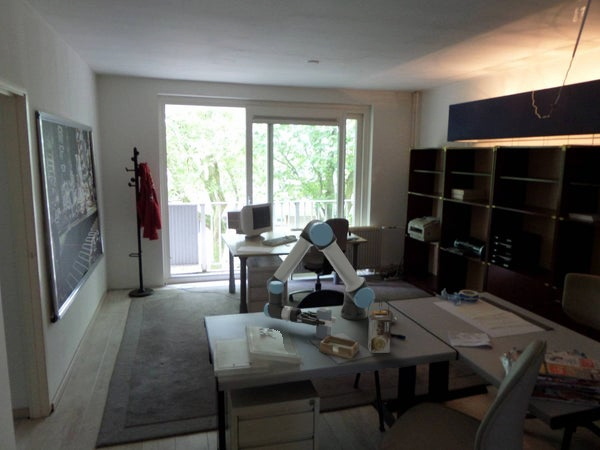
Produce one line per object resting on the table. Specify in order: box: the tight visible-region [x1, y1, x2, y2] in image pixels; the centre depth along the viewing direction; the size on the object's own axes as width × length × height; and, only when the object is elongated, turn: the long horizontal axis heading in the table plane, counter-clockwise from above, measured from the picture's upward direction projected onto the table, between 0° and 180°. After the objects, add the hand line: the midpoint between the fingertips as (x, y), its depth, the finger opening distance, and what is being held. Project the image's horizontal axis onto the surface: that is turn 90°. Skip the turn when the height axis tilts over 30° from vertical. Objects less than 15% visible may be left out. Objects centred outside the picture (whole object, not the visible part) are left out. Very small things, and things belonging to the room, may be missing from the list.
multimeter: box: [366, 297, 394, 339], centre depth 210 cm, size 15×10×20 cm
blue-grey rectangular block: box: [312, 307, 333, 340], centre depth 211 cm, size 5×10×15 cm, turn 64°
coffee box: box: [367, 314, 392, 354], centre depth 196 cm, size 9×6×16 cm
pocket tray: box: [318, 335, 359, 359], centre depth 195 cm, size 10×16×4 cm
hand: (333, 322), depth 208 cm, fingers closed on blue-grey rectangular block, 5 cm apart
